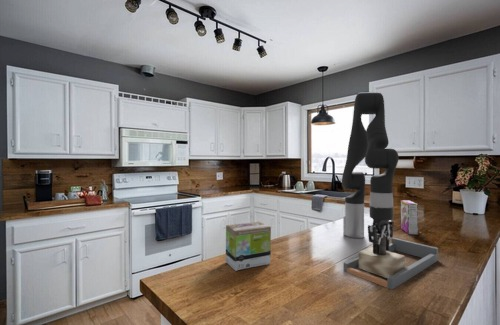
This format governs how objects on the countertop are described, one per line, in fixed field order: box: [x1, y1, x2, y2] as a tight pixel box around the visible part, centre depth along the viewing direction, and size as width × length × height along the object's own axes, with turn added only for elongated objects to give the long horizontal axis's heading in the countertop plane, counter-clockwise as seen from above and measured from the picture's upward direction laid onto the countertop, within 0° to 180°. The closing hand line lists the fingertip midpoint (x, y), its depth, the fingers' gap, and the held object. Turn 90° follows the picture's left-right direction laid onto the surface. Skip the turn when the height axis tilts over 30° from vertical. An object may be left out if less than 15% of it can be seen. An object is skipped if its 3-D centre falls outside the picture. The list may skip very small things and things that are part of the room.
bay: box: [342, 237, 439, 290], centre depth 99 cm, size 17×38×5 cm, turn 127°
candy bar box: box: [400, 199, 419, 236], centre depth 143 cm, size 11×5×16 cm, turn 168°
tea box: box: [225, 221, 272, 272], centre depth 102 cm, size 15×10×15 cm
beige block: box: [358, 236, 406, 279], centre depth 93 cm, size 12×9×12 cm
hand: (381, 251), depth 93 cm, fingers open, 6 cm apart
